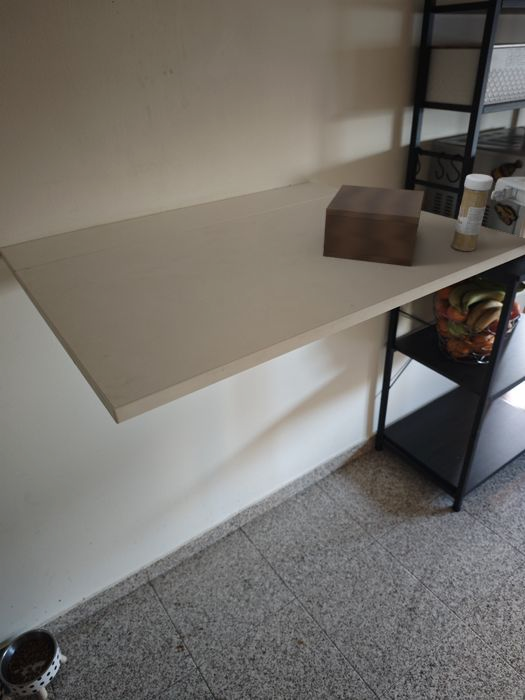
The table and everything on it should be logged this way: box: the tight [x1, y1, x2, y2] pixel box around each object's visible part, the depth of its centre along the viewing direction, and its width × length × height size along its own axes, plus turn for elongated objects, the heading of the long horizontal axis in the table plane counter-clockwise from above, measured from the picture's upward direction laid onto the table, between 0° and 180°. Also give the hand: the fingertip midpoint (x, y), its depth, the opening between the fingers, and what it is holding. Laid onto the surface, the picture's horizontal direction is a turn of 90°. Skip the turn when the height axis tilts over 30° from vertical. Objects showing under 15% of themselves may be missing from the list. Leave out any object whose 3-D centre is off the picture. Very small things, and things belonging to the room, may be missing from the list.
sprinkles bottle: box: [451, 173, 494, 252], centre depth 92 cm, size 5×5×13 cm
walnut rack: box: [322, 184, 425, 267], centre depth 95 cm, size 16×16×9 cm
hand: (512, 202), depth 95 cm, fingers open, 8 cm apart
